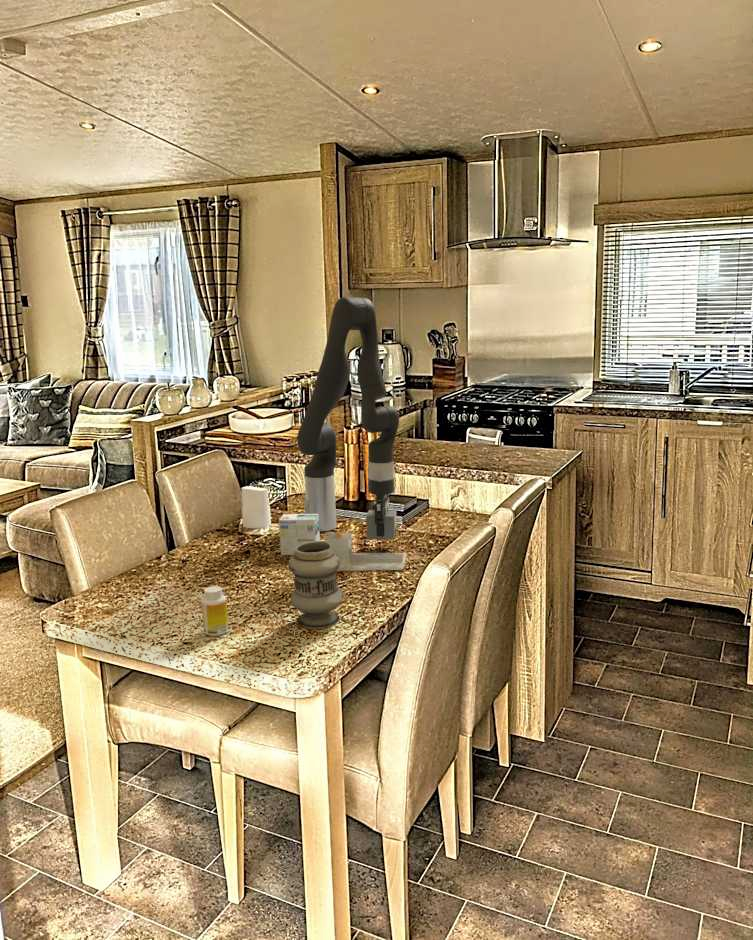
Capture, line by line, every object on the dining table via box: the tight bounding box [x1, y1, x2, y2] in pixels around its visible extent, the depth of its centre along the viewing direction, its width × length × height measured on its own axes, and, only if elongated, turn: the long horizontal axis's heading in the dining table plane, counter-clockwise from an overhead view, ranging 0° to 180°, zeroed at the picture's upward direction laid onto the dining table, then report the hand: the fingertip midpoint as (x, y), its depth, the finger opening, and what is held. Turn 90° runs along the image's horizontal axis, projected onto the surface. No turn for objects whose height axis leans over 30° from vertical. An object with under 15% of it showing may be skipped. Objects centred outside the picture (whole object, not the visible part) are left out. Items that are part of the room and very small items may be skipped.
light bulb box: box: [278, 513, 321, 556], centre depth 245 cm, size 11×7×11 cm, turn 84°
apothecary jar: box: [288, 540, 344, 630], centre depth 194 cm, size 12×12×18 cm
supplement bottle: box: [200, 585, 230, 637], centre depth 191 cm, size 6×6×10 cm
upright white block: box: [241, 485, 272, 529], centre depth 274 cm, size 9×9×12 cm
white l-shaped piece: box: [325, 531, 407, 572], centre depth 233 cm, size 22×12×9 cm, turn 84°
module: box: [365, 509, 398, 541], centre depth 246 cm, size 8×6×7 cm
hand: (381, 532), depth 246 cm, fingers closed on module, 6 cm apart
